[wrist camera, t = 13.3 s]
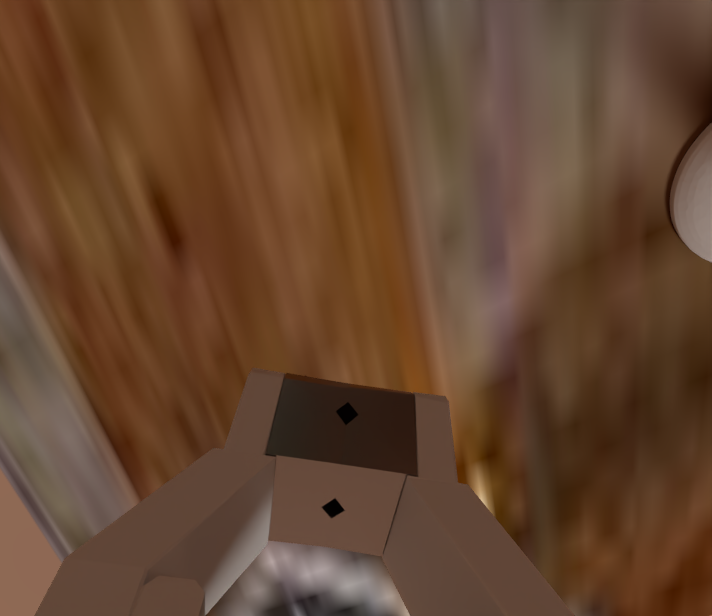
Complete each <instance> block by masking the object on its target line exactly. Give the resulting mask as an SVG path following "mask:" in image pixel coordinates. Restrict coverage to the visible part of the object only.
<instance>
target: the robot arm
mask: <svg viewBox="0 0 712 616" xmlns="http://www.w3.org/2000/svg"><path fill="white" fill-rule="evenodd" d="M268 540H270V541H279V542H288V543H297V544H306V545H315V546H324V547H330V548H336V549H342V550H348V551H354V552H360V553H366V554H372V555H378V556H383V558H382V560H383V562H384V564H385V566H386V568H387V570H388V572H389V574H390V576H391V578H392V580H393V582H394V584H395V586H396V588H397V590H398V592H399V594H400V596H401V598H402V600H403V602H404V604H405V606H406V608H407V610H408V612H409V614H410V616H575V615H574V614H573V613H572V612H571V611H570V609H569V608H568V607H567V606H566V604H565V603H564V602H563V601H562V599H561V598H560V597H559V596H558V595H557V593H556V592H555V591H554V590H553V588H552V587H551V586H550V585H549V584H548V582H547V581H546V580H545V579H544V577H543V576H542V575H541V574H540V572H539V571H538V570H537V569H536V568H535V566H534V565H533V564H532V563H531V561H530V560H529V559H528V558H527V557H526V555H525V554H524V553H523V552H522V550H521V549H520V548H519V547H518V545H517V544H516V543H515V542H514V541H513V539H512V538H511V537H510V536H509V534H508V533H507V532H506V531H505V530H504V528H503V527H502V526H501V525H500V523H499V522H498V521H497V520H496V518H495V517H494V516H493V515H492V514H491V512H490V511H489V510H488V509H487V507H486V506H485V505H484V504H483V503H482V501H481V500H480V499H479V498H478V496H477V495H476V494H475V493H474V491H473V490H472V489H471V488H470V487H469V485H466V484H461V483H458V480H457V471H456V463H455V454H454V445H453V436H452V427H451V419H450V410H449V401H448V400H447V398H446V397H445V396H438V395H430V394H423V393H415V392H414V393H411V392H405V391H398V390H391V389H384V388H376V387H369V386H362V385H355V384H348V383H342V382H336V381H330V380H325V379H319V378H313V377H307V376H301V375H296V374H290V373H286V374H285V373H280V372H274V371H269V370H263V369H257V368H253V369H252V370H251V372H250V373H249V375H248V378H247V381H246V384H245V387H244V390H243V393H242V396H241V399H240V402H239V405H238V408H237V411H236V414H235V417H234V420H233V423H232V426H231V429H230V432H229V435H228V438H227V441H226V444H225V447H224V449H218V448H213V449H211V450H210V451H209V452H207V453H206V454H205V455H203V456H202V457H201V458H199V459H198V460H197V461H195V462H194V463H193V464H191V465H190V466H189V467H187V468H186V469H184V470H183V471H182V472H180V473H179V474H178V475H176V476H175V477H174V478H172V479H171V480H170V481H168V482H167V483H166V484H164V485H163V486H162V487H160V488H159V489H158V490H156V491H155V492H153V493H152V494H151V495H149V496H148V497H147V498H145V499H144V500H143V501H141V502H140V503H139V504H137V505H136V506H135V507H133V508H132V509H131V510H129V511H128V512H127V513H125V514H124V515H122V516H121V517H120V518H118V519H117V520H116V521H114V522H113V523H112V524H110V525H109V526H108V527H106V528H105V529H104V530H102V531H101V532H100V533H98V534H97V535H96V536H94V537H93V538H92V539H90V540H89V541H87V542H86V543H85V544H83V545H82V546H81V547H79V548H78V549H77V550H75V551H74V552H73V553H71V554H70V555H69V556H67V557H66V558H65V559H64V561H63V563H62V565H61V567H60V568H59V570H58V572H57V574H56V576H55V578H54V580H53V582H52V584H51V586H50V587H49V589H48V591H47V593H46V595H45V597H44V599H43V601H42V602H41V604H40V606H39V608H38V610H37V612H36V614H35V616H205V615H206V614H207V613H208V612H209V610H210V609H211V608H212V607H213V606H214V605H215V604H216V602H217V601H218V600H219V599H220V598H221V597H222V596H223V594H224V593H225V592H226V591H227V590H228V589H229V588H230V586H231V585H232V584H233V583H234V582H235V581H236V580H237V578H238V577H239V576H240V575H241V574H242V573H243V572H244V570H245V569H246V568H247V567H248V566H249V565H250V564H251V563H252V561H253V560H254V559H255V558H256V557H257V556H258V555H259V553H260V552H261V551H262V550H263V549H264V548H265V547H266V545H267V544H268Z"/></svg>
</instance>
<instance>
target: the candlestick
mask: <svg viewBox="0 0 712 616" xmlns="http://www.w3.org/2000/svg"><path fill="white" fill-rule="evenodd" d="M670 214H671V219H672V222H673V225H674V228H675V230H676V232H677V234H678V235H679V237H680V238H681V240H682V241H683V242H684V243H685V244H686V245H687V247H688V248H689V249H691V250H692V251H693V252H694V253H695V254H697V255H698V256H700V257H702V258H704V259H706V260H708V261H710V262H712V123H711V124H710V125H709V126H708V127H707V128H706V129H705V130H704V131H703V132H702V133H701V134H700V135H699V136H698V138H697V139H696V140H695V141H694V142H693V144H692V145H691V146H690V148H689V149H688V151H687V152H686V154H685V156H684V157H683V159H682V161H681V163H680V165H679V167H678V169H677V172H676V174H675V177H674V180H673V183H672V188H671V193H670Z"/></svg>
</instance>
